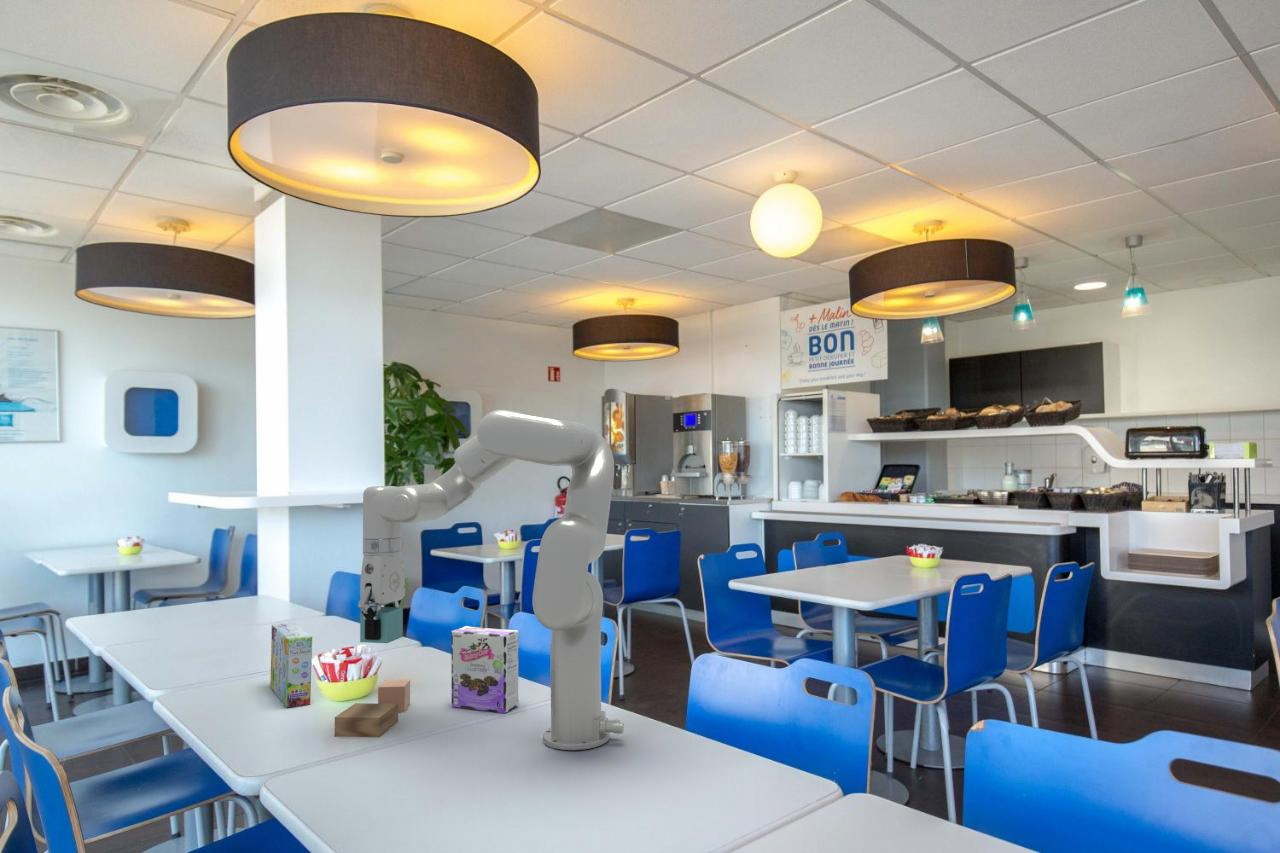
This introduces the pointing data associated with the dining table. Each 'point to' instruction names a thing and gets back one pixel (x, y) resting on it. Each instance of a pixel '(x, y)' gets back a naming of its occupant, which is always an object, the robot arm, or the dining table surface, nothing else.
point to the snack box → (291, 664)
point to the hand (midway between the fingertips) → (381, 635)
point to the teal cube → (386, 625)
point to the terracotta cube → (395, 693)
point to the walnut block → (366, 720)
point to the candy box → (485, 669)
